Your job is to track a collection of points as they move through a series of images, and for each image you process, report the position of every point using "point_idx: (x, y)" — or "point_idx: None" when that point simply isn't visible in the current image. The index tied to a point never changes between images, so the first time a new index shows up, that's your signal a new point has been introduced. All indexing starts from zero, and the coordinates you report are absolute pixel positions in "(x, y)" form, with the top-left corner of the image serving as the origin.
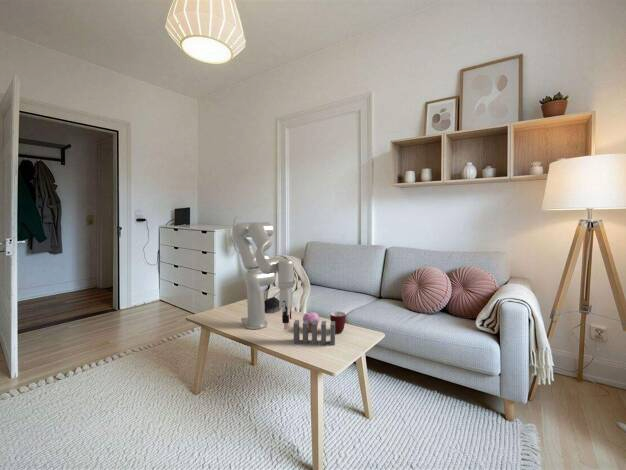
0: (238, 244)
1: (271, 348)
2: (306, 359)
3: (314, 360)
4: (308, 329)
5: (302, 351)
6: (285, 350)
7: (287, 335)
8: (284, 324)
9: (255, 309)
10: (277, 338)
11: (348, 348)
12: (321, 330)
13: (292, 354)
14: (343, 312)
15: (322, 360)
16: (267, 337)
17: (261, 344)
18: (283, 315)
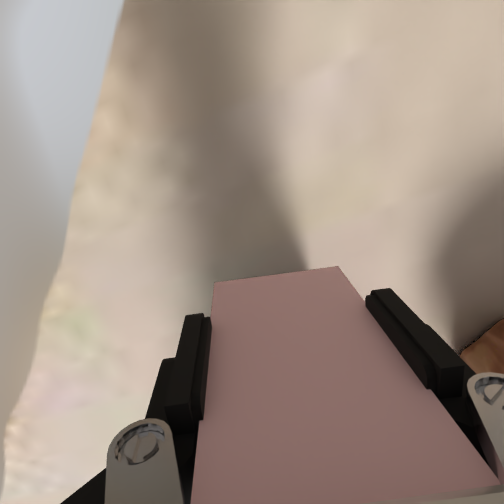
0: None
1: (94, 159)
2: (38, 431)
3: (46, 468)
4: (475, 353)
5: (131, 386)
6: (103, 280)
7: (384, 202)
8: (213, 317)
9: None
10: (307, 134)
11: None
12: None
13: (64, 343)
14: None
15: (65, 499)
16: (314, 17)
17: (138, 23)
18: (140, 439)
